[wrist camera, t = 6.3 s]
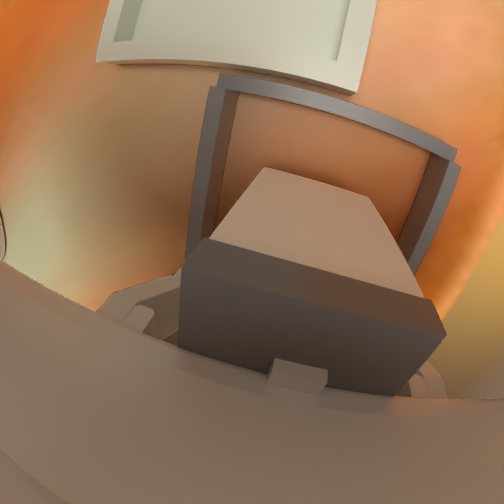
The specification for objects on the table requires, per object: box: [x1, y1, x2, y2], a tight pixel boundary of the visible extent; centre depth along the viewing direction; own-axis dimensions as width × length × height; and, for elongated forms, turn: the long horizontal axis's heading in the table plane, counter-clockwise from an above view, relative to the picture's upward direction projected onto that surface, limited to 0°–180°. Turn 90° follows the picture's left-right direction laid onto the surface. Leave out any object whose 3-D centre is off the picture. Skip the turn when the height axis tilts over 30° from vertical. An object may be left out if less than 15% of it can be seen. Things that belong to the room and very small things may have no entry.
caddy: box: [178, 167, 446, 396], centre depth 9 cm, size 5×7×8 cm, turn 168°
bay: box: [163, 74, 461, 346], centre depth 13 cm, size 14×17×10 cm
